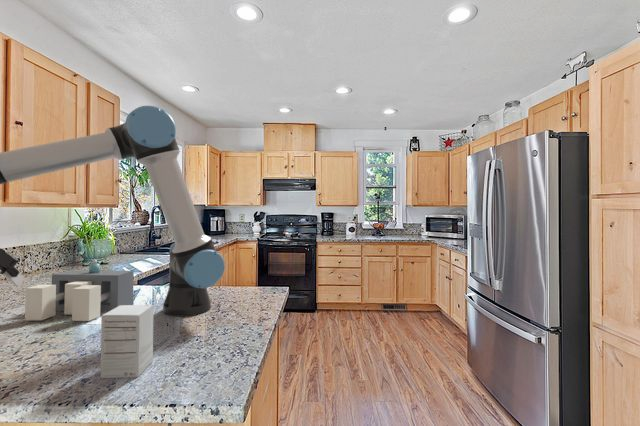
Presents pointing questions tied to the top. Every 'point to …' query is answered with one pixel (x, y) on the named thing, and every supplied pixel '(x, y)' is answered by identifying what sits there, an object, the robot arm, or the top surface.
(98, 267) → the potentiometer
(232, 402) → the top surface
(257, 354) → the top surface
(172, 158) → the robot arm
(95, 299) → the knob
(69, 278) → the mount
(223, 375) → the top surface
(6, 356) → the top surface
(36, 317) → the knob
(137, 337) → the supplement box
